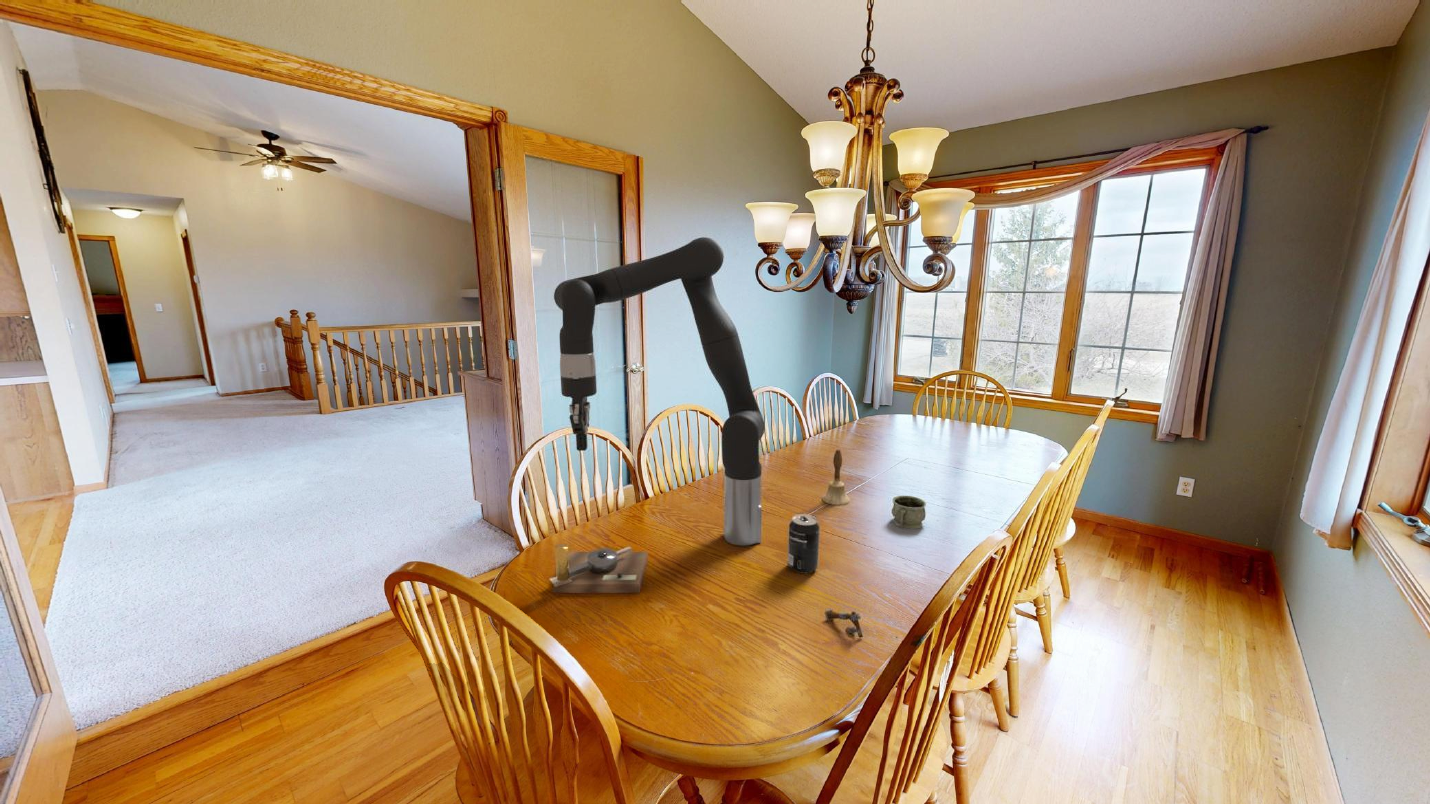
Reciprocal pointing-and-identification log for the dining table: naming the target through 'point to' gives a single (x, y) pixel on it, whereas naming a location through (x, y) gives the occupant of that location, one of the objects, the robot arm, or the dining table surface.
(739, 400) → the robot arm
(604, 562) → the capstan
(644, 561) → the stand
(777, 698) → the dining table surface
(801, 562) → the beverage can
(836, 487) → the hand bell
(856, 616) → the brown grey angled piece
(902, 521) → the vessel
